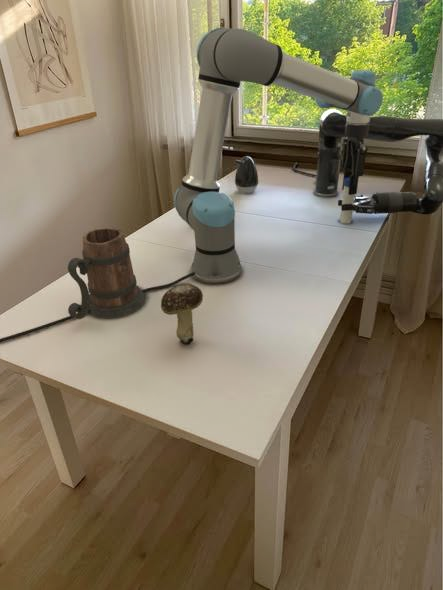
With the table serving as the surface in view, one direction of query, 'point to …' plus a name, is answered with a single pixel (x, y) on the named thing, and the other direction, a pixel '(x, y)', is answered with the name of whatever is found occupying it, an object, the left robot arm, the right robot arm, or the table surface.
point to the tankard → (105, 276)
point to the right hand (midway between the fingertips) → (340, 205)
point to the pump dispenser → (246, 175)
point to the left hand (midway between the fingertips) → (349, 191)
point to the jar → (347, 199)
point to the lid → (347, 181)
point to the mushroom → (182, 308)
